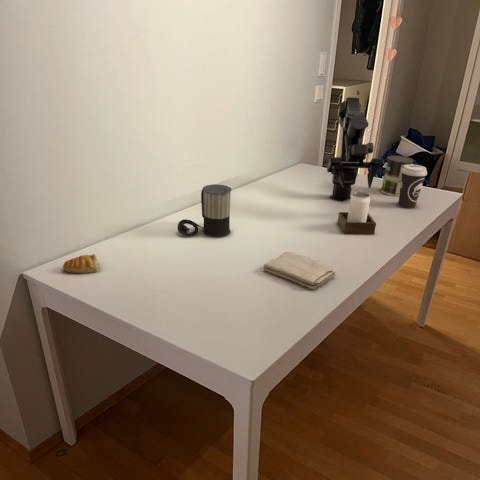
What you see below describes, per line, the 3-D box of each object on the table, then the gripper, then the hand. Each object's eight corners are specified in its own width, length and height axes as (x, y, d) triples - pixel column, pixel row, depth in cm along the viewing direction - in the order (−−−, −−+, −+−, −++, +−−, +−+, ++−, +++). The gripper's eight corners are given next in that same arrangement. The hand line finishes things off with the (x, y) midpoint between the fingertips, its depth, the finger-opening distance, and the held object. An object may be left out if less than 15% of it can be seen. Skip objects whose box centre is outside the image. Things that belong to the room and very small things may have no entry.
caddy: (337, 222, 169) (338, 212, 167) (365, 223, 170) (367, 212, 168) (343, 233, 160) (345, 222, 158) (374, 234, 161) (376, 223, 159)
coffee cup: (416, 202, 192) (425, 164, 183) (421, 210, 183) (431, 171, 175) (392, 201, 192) (400, 163, 184) (396, 208, 184) (404, 169, 176)
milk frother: (236, 232, 158) (237, 188, 150) (201, 245, 148) (201, 199, 140) (206, 221, 166) (206, 179, 158) (172, 233, 156) (170, 188, 148)
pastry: (64, 276, 128) (61, 263, 126) (63, 265, 133) (61, 253, 131) (99, 272, 131) (98, 259, 129) (97, 262, 136) (96, 249, 134)
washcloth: (315, 291, 125) (316, 281, 124) (260, 271, 135) (261, 261, 133) (337, 276, 133) (338, 266, 132) (284, 258, 142) (285, 248, 141)
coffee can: (382, 195, 198) (389, 160, 191) (379, 187, 207) (386, 154, 199) (407, 197, 197) (415, 162, 190) (403, 189, 206) (411, 156, 198)
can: (353, 233, 161) (359, 198, 155) (342, 226, 166) (347, 192, 160) (368, 230, 164) (375, 196, 158) (356, 224, 169) (362, 190, 162)
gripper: (333, 132, 159) (335, 174, 155) (388, 134, 160) (391, 176, 156) (325, 151, 169) (327, 191, 166) (377, 152, 170) (380, 192, 167)
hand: (356, 187), depth 164 cm, fingers open, 9 cm apart
